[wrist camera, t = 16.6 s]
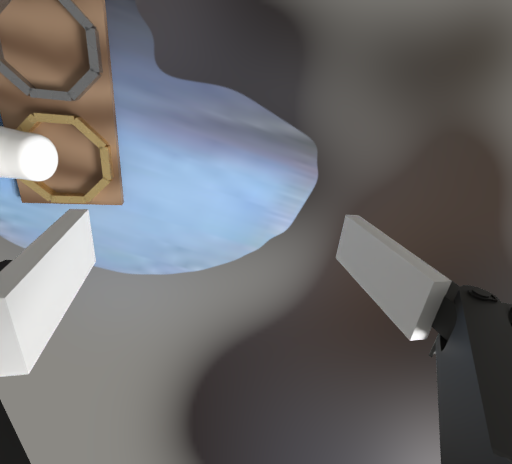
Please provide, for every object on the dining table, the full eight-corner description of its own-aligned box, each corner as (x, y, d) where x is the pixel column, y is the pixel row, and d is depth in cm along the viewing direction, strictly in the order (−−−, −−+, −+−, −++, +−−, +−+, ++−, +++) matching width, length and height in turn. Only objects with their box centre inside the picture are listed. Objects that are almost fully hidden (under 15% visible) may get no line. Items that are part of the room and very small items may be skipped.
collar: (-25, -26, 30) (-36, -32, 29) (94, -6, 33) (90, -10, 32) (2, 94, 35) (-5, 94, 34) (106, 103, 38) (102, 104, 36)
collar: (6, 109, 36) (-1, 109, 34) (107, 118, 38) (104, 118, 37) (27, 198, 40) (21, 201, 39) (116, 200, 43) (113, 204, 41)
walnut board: (-28, -31, 31) (-36, -36, 30) (104, -9, 34) (101, -12, 33) (26, 199, 41) (22, 202, 40) (123, 202, 44) (121, 205, 43)
